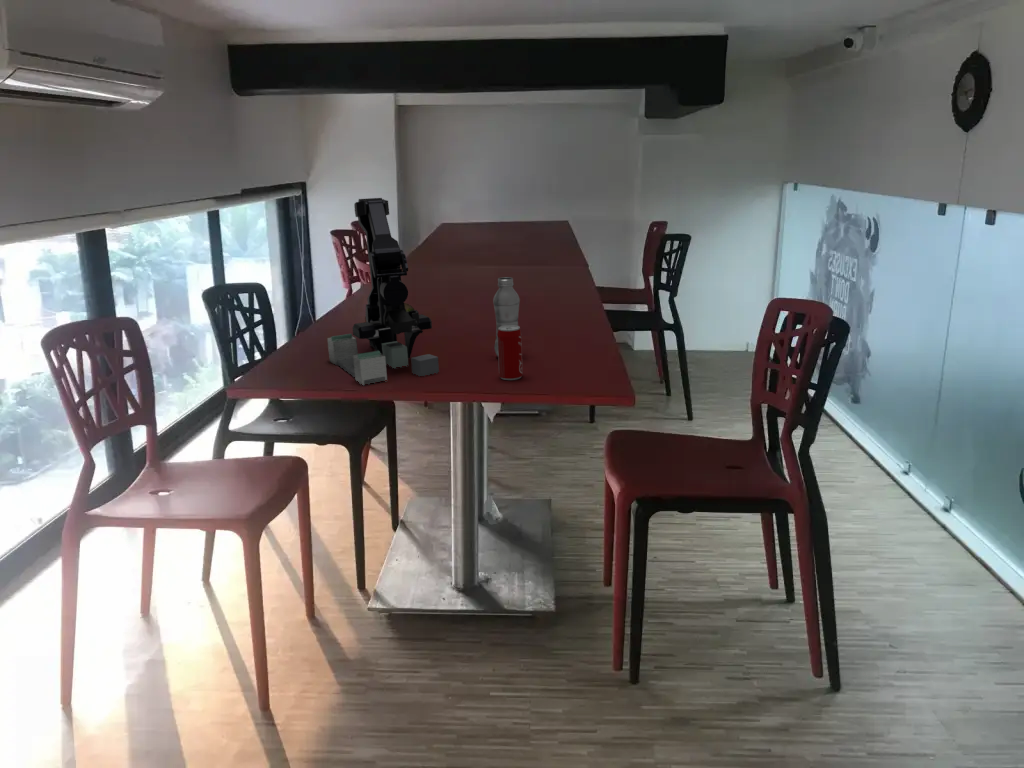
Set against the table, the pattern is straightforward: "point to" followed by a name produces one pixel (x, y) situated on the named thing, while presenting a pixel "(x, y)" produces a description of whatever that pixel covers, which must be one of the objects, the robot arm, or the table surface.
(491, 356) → the table surface
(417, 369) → the block
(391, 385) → the table surface
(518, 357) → the soda can
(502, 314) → the plastic bottle
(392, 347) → the block
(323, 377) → the table surface
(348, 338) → the rail
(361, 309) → the table surface
